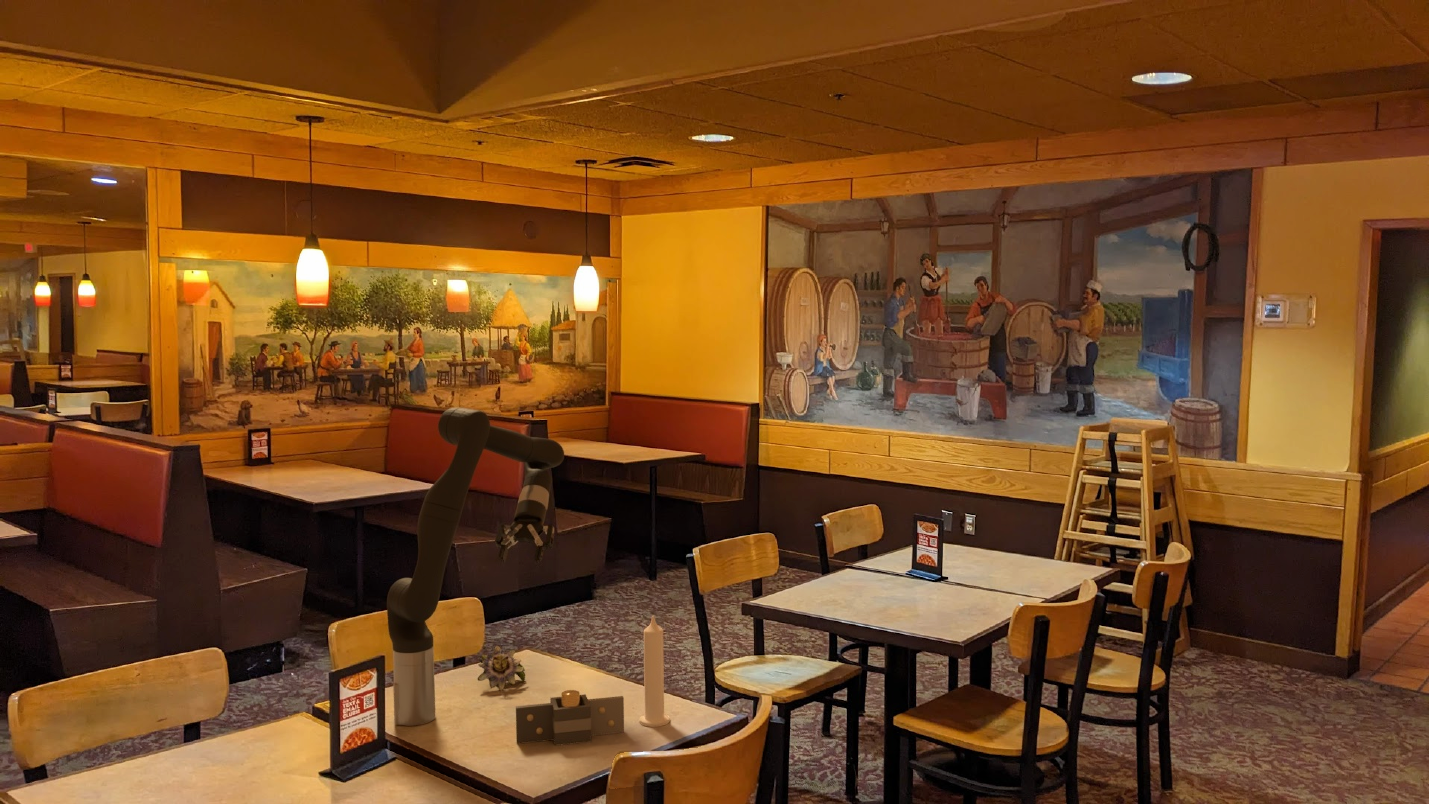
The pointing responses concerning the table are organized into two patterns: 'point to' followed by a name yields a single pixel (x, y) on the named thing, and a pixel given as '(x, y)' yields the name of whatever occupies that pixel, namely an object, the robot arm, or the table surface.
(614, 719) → the hinge
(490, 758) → the table surface
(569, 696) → the amber cylinder
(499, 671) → the passion flower
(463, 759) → the table surface
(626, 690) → the table surface
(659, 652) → the candle
